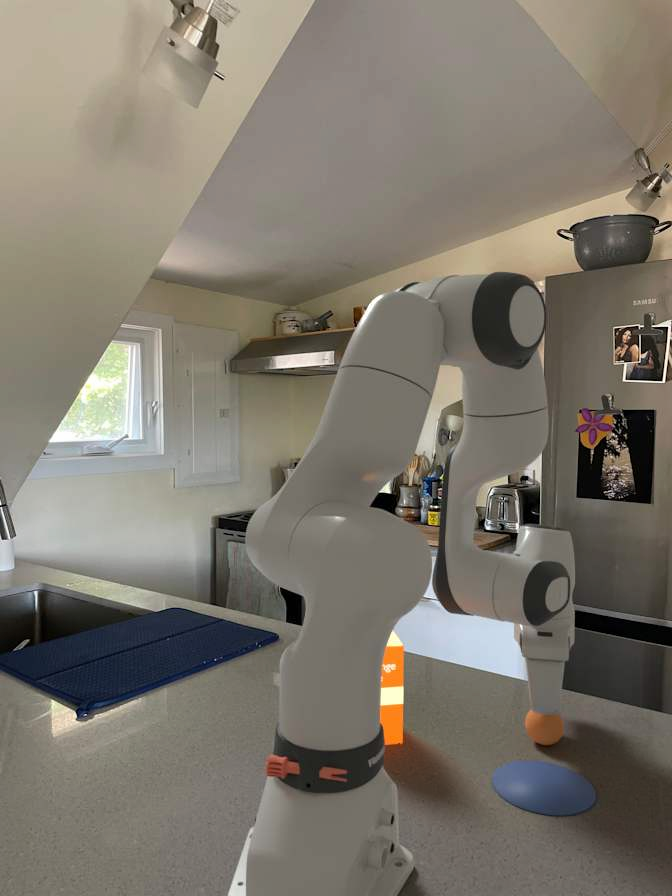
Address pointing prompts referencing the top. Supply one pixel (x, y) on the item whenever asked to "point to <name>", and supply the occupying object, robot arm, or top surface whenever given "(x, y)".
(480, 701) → the top surface
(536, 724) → the ball
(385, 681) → the orange juice
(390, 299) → the robot arm
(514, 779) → the blue flat disc
